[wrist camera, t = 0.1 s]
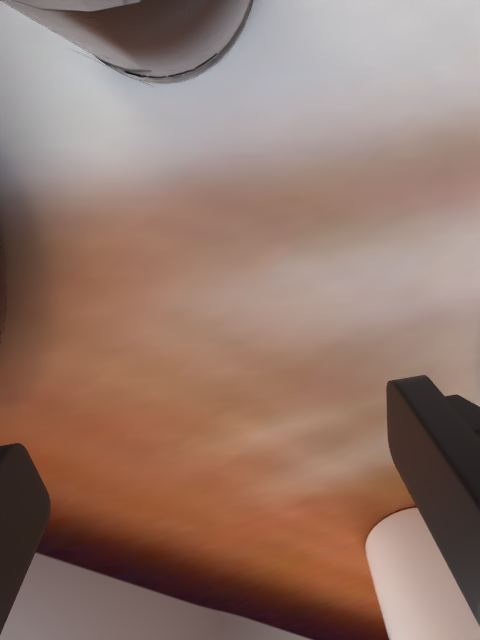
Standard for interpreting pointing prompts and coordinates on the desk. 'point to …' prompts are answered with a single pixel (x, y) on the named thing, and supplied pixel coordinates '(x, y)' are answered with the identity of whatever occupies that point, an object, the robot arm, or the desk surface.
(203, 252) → the desk surface
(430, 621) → the white cup
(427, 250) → the desk surface
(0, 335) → the black round plastic slab
